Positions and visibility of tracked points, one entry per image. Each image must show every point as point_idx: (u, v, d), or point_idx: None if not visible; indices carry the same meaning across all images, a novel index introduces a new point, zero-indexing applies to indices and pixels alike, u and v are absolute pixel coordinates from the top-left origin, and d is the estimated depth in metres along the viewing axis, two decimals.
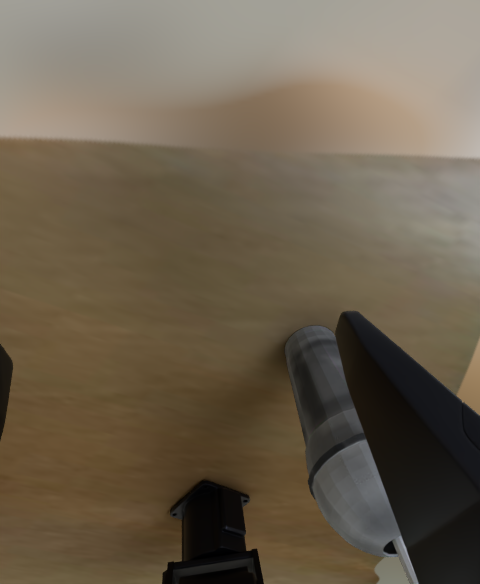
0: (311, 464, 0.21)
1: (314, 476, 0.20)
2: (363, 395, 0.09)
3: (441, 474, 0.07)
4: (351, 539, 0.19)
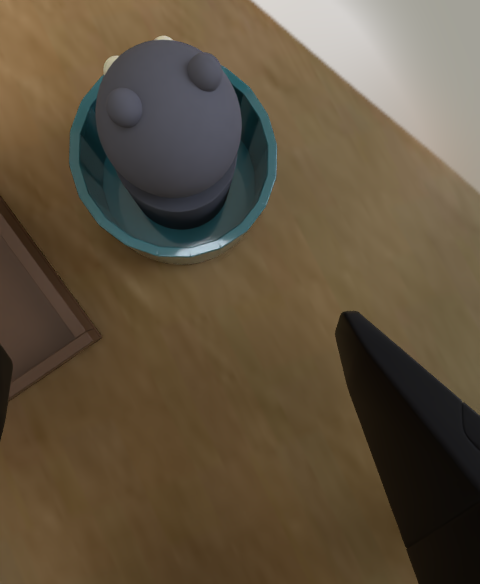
0: None
1: None
2: (363, 395, 0.09)
3: (441, 474, 0.07)
4: None
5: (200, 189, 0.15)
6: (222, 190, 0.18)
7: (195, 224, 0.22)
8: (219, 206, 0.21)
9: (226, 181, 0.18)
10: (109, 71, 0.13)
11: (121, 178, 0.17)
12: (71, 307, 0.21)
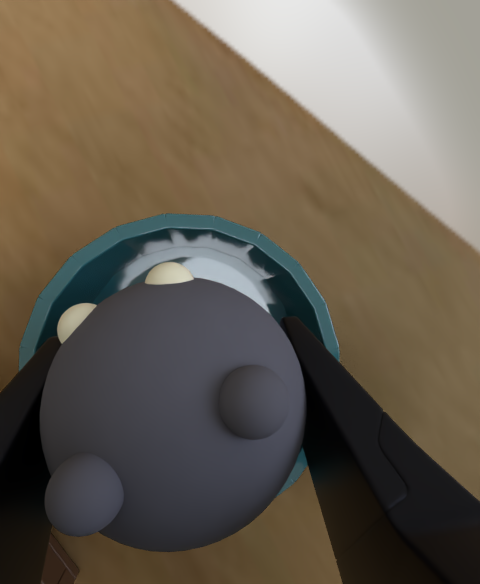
0: None
1: None
2: None
3: (355, 486, 0.07)
4: None
5: None
6: None
7: None
8: None
9: None
10: (61, 377, 0.07)
11: None
12: None
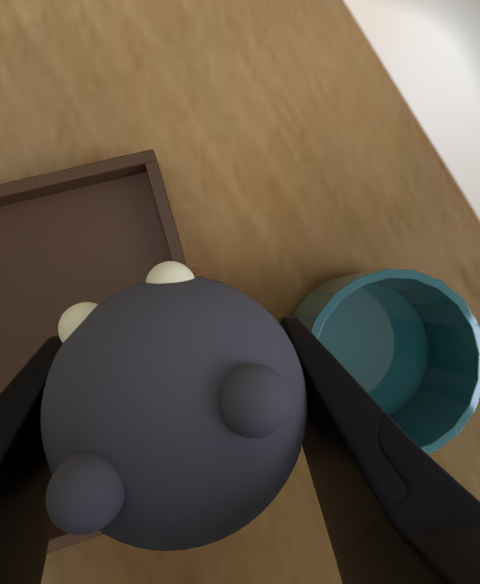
0: None
1: None
2: None
3: (354, 486, 0.07)
4: None
5: None
6: None
7: None
8: None
9: None
10: (62, 376, 0.07)
11: None
12: None
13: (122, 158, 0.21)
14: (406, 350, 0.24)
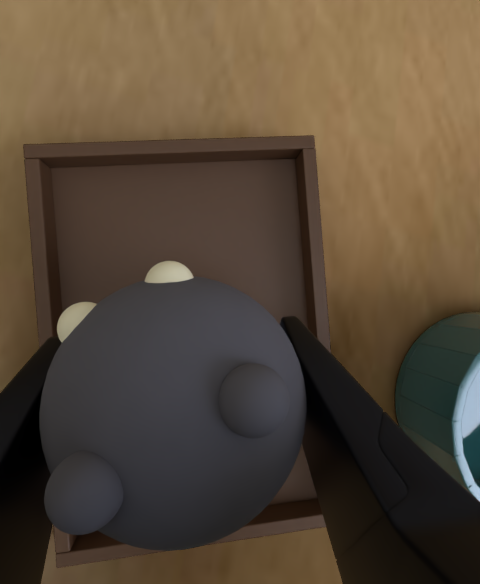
0: None
1: None
2: None
3: (355, 486, 0.07)
4: None
5: None
6: None
7: None
8: None
9: None
10: (60, 375, 0.07)
11: None
12: None
13: (280, 138, 0.19)
14: None
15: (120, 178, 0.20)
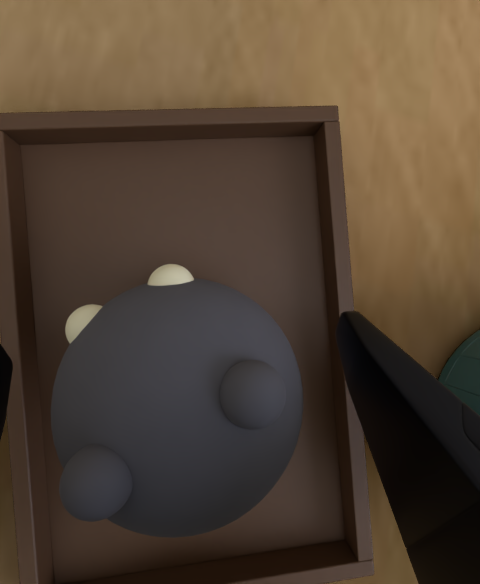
0: None
1: None
2: (363, 395, 0.09)
3: (441, 474, 0.07)
4: None
5: None
6: None
7: None
8: None
9: None
10: (71, 374, 0.07)
11: None
12: (367, 518, 0.16)
13: (297, 109, 0.16)
14: None
15: (104, 158, 0.16)
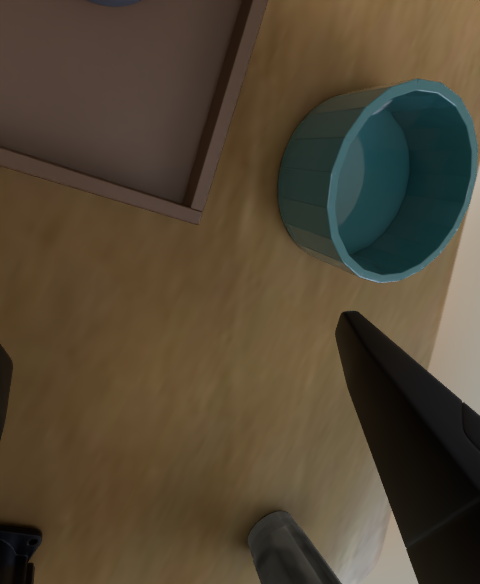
0: None
1: None
2: (363, 395, 0.09)
3: (441, 474, 0.07)
4: None
5: None
6: None
7: None
8: None
9: None
10: None
11: None
12: (210, 180, 0.18)
13: None
14: (380, 209, 0.25)
15: None
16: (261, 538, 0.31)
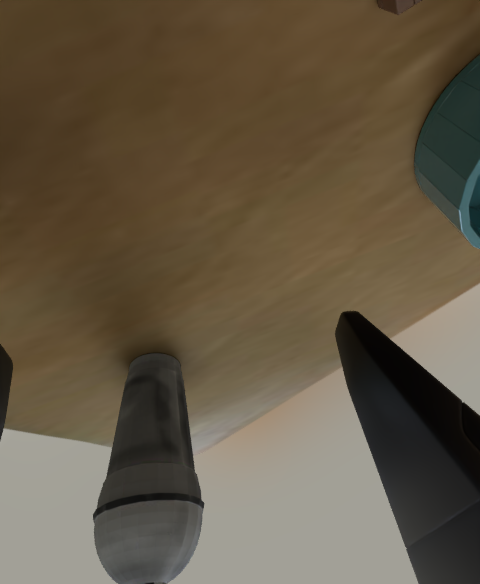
0: (185, 488, 0.24)
1: (188, 501, 0.23)
2: (363, 395, 0.09)
3: (441, 474, 0.07)
4: (160, 559, 0.21)
5: None
6: None
7: None
8: None
9: None
10: None
11: None
12: None
13: None
14: None
15: None
16: (149, 366, 0.30)
